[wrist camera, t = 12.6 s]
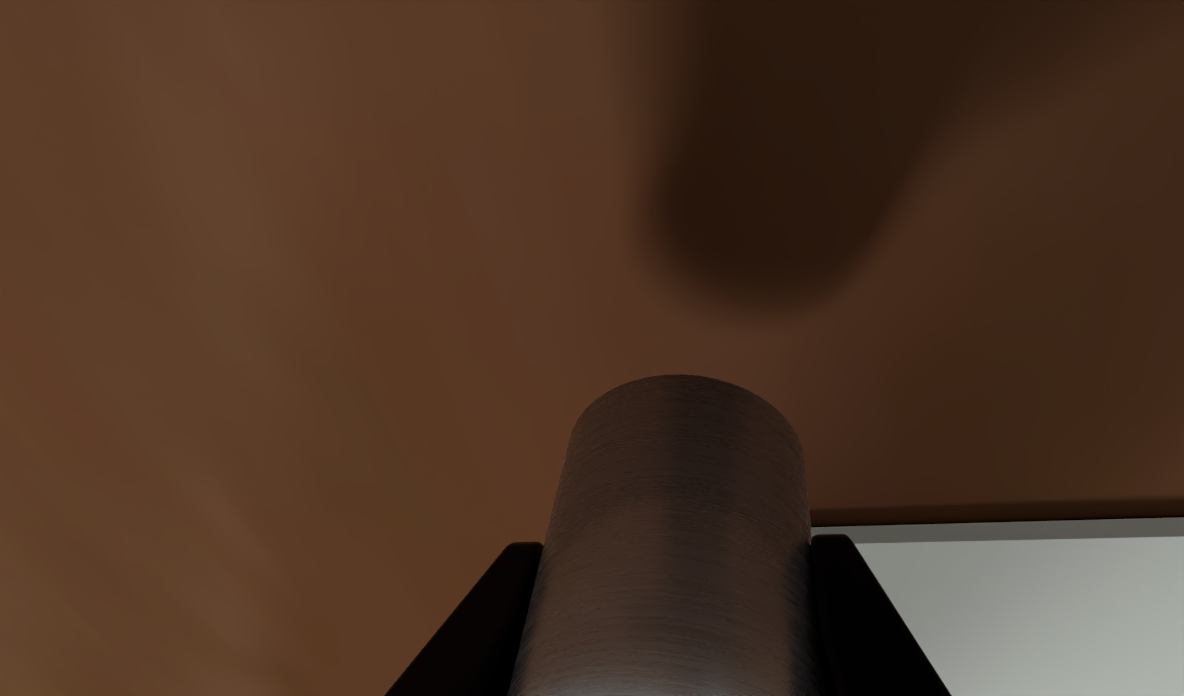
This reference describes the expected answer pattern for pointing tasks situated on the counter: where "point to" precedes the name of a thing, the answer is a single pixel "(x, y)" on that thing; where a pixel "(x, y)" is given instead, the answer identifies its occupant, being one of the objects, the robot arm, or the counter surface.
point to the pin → (676, 552)
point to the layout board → (1038, 602)
